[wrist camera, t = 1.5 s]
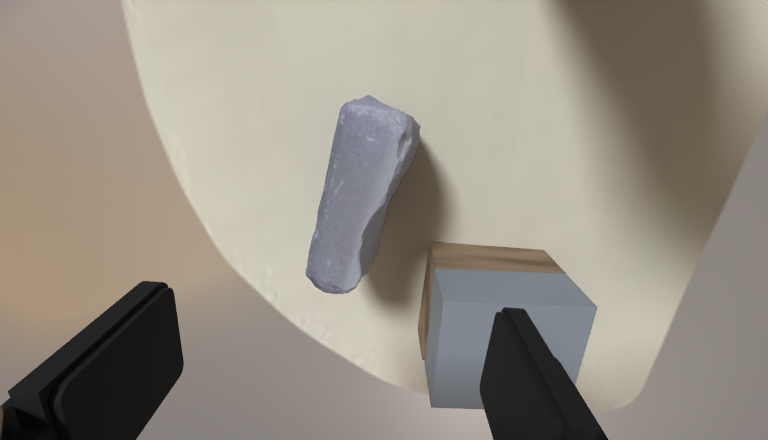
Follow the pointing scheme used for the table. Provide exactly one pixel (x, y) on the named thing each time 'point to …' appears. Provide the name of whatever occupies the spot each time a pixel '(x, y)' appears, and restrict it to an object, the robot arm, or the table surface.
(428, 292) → the tower base
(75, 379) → the robot arm
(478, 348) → the tower top
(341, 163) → the stone block
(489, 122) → the table surface
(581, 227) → the table surface
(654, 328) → the table surface
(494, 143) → the table surface
